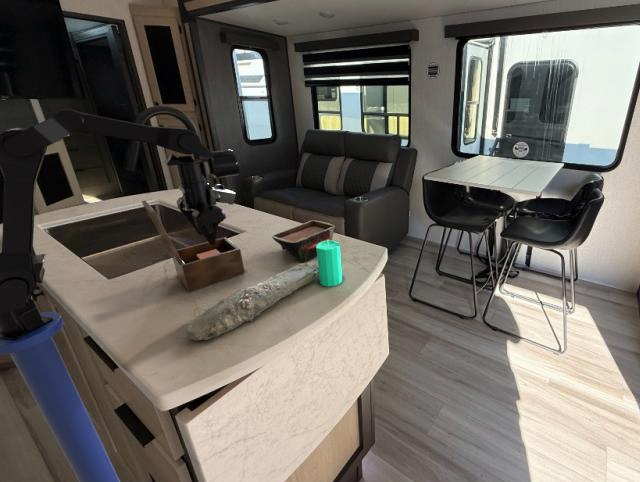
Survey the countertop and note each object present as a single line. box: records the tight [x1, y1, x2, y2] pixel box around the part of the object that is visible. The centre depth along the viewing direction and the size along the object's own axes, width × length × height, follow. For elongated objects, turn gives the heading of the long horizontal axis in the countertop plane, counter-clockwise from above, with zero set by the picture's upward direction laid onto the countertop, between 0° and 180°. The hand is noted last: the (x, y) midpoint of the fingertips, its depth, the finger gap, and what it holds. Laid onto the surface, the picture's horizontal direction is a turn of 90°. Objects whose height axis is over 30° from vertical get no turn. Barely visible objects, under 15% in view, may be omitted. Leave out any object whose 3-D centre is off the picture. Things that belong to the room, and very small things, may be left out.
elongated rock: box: [185, 260, 319, 341], centre depth 76 cm, size 35×5×10 cm
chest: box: [171, 236, 245, 293], centre depth 87 cm, size 14×12×7 cm
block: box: [196, 249, 221, 260], centre depth 87 cm, size 5×5×5 cm
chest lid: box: [141, 200, 183, 265], centre depth 77 cm, size 14×12×1 cm
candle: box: [316, 239, 343, 288], centre depth 83 cm, size 6×6×12 cm
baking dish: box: [271, 219, 336, 263], centre depth 100 cm, size 14×18×10 cm
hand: (207, 239), depth 83 cm, fingers open, 9 cm apart
